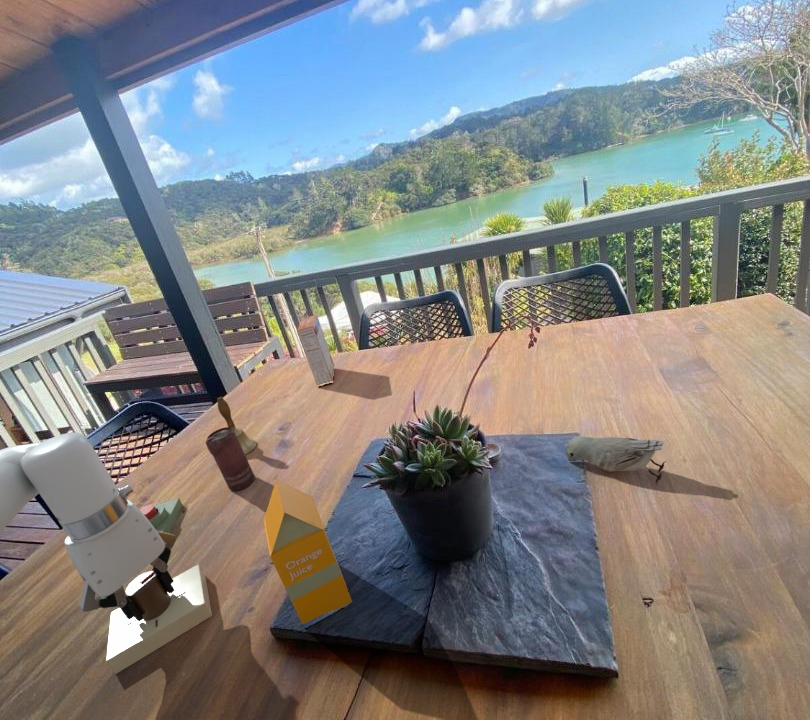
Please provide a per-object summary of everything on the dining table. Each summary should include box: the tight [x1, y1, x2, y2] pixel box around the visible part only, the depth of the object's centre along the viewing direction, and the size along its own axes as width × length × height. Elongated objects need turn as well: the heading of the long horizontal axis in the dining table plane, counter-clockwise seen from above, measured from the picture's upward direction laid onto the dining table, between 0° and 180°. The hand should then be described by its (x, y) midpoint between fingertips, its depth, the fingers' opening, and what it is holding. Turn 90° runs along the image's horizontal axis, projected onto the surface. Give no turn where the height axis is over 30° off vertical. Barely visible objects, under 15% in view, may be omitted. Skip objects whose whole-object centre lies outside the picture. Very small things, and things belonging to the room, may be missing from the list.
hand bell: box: [216, 396, 258, 456], centre depth 114 cm, size 8×8×16 cm
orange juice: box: [263, 478, 353, 625], centre depth 64 cm, size 8×9×20 cm
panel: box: [105, 564, 213, 675], centre depth 70 cm, size 14×10×3 cm
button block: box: [149, 497, 184, 533], centre depth 93 cm, size 12×8×4 cm, turn 10°
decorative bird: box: [565, 435, 667, 486], centre depth 76 cm, size 5×16×8 cm, turn 55°
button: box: [138, 503, 157, 520], centre depth 92 cm, size 4×4×2 cm
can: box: [205, 426, 255, 492], centre depth 99 cm, size 6×6×14 cm
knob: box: [124, 569, 171, 620], centre depth 68 cm, size 4×4×6 cm
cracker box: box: [296, 314, 335, 386], centre depth 146 cm, size 14×6×21 cm, turn 6°
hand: (152, 601), depth 69 cm, fingers closed on knob, 4 cm apart
